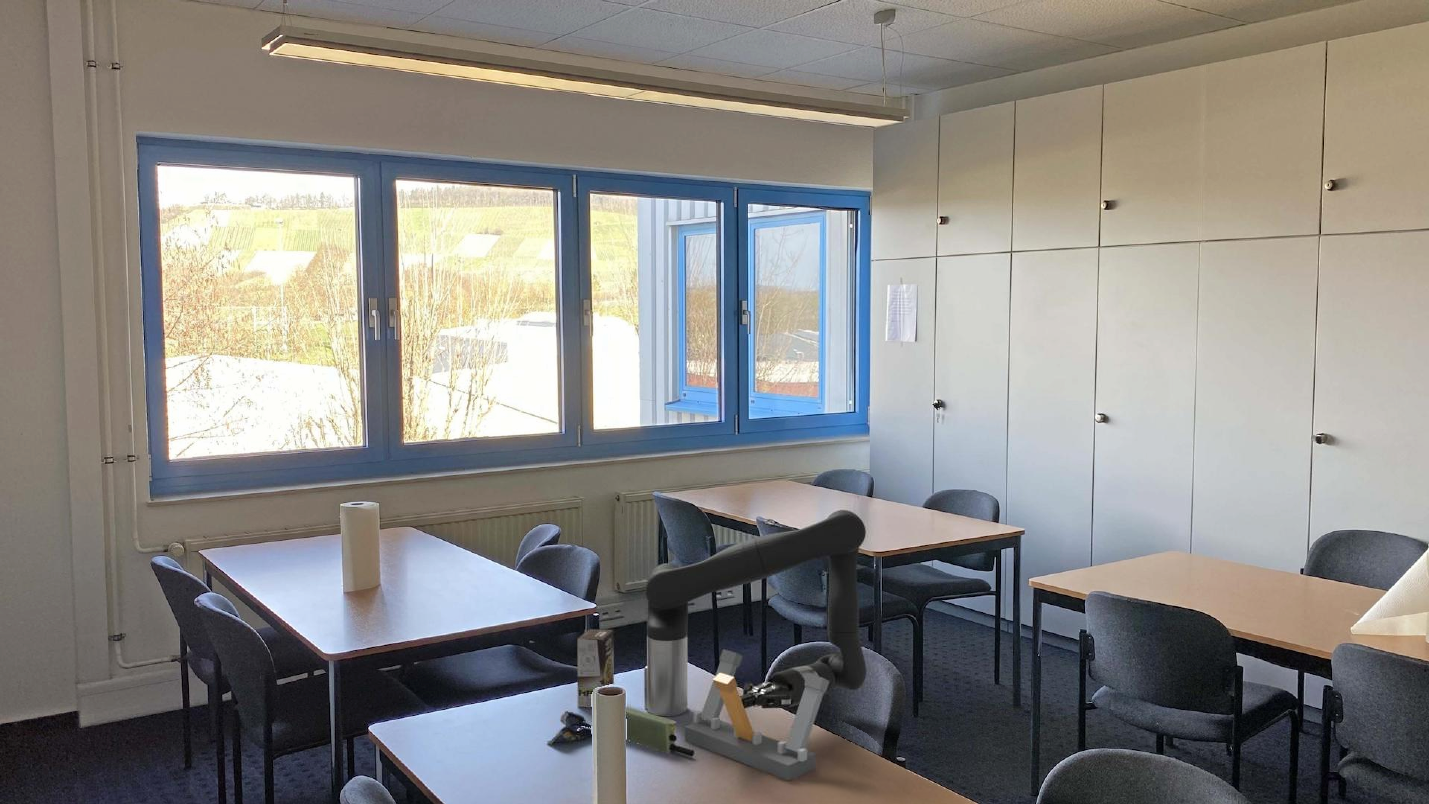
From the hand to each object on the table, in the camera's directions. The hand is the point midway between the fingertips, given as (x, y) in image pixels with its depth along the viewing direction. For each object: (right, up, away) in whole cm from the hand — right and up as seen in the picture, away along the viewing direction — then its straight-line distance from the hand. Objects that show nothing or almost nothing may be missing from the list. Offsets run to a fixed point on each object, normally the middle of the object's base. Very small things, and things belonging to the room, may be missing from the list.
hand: (738, 703), depth 213 cm
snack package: (-35, -11, +12) cm, 38 cm away
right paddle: (+10, -9, -6) cm, 15 cm away
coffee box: (-33, -10, +35) cm, 48 cm away
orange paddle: (+2, -8, +2) cm, 9 cm away
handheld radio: (-19, -11, +8) cm, 24 cm away
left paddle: (-6, -8, +11) cm, 15 cm away
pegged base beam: (+2, -11, +3) cm, 12 cm away
